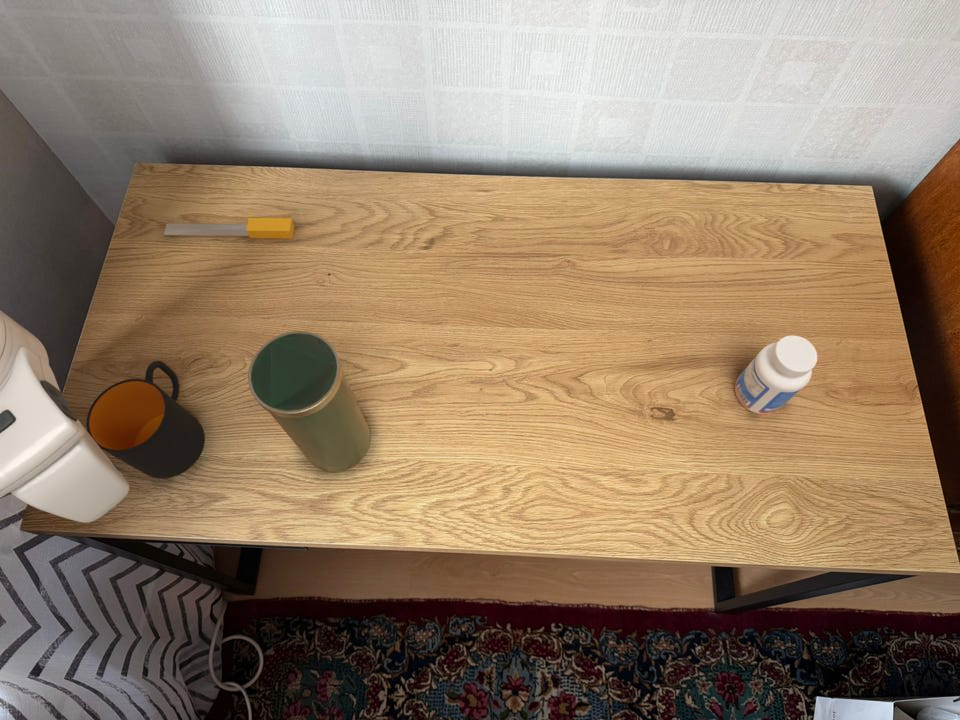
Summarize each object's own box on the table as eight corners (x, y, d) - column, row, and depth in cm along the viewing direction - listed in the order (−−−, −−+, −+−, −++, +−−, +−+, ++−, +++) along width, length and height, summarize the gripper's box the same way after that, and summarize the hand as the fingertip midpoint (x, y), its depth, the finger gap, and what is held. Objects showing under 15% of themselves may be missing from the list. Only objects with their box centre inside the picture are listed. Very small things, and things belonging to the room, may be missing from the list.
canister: (340, 488, 73) (295, 431, 55) (287, 446, 76) (228, 379, 58) (386, 433, 76) (358, 362, 58) (335, 394, 79) (292, 315, 61)
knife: (294, 226, 90) (291, 218, 88) (292, 238, 89) (289, 230, 87) (168, 224, 90) (162, 216, 88) (164, 237, 89) (159, 229, 87)
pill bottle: (787, 381, 80) (832, 341, 70) (776, 423, 77) (820, 387, 67) (739, 363, 81) (776, 321, 71) (727, 403, 78) (763, 365, 68)
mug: (219, 386, 79) (184, 349, 70) (195, 480, 74) (154, 454, 64) (154, 383, 79) (110, 345, 70) (125, 476, 74) (74, 450, 65)
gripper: (-148, 307, 44) (-11, 386, 56) (-7, 514, 38) (112, 552, 50) (-60, 254, 46) (54, 342, 58) (87, 442, 40) (179, 496, 52)
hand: (82, 440), depth 54 cm, fingers open, 8 cm apart
